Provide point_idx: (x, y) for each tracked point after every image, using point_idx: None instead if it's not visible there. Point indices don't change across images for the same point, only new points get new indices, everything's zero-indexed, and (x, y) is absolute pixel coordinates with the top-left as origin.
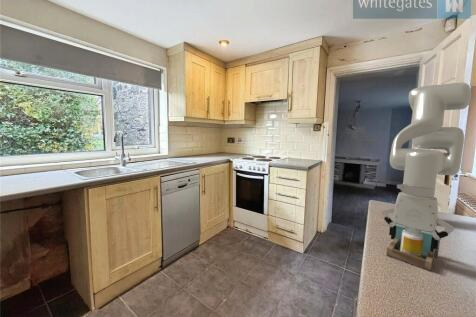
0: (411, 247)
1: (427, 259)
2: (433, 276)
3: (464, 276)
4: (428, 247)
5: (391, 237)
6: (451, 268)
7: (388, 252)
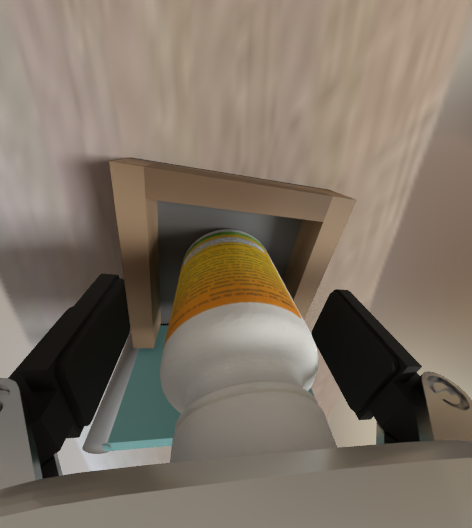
0: (232, 257)
1: (139, 208)
2: (104, 97)
3: (4, 231)
4: (159, 352)
5: (350, 295)
6: (69, 271)
7: (333, 192)
